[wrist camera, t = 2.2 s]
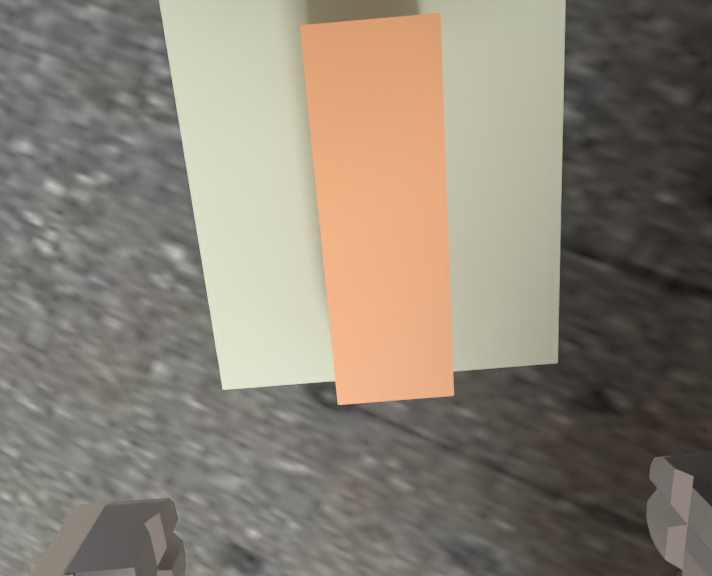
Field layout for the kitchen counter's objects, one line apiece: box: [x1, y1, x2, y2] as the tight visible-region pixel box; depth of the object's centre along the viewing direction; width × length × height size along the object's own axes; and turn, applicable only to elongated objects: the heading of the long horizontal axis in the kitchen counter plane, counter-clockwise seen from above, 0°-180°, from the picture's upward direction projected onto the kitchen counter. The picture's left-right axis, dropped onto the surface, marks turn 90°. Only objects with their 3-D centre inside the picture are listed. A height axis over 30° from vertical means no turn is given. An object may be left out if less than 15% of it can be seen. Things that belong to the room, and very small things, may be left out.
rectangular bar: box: [300, 13, 454, 405], centre depth 19 cm, size 12×4×4 cm, turn 5°
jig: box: [159, 0, 566, 390], centre depth 16 cm, size 27×14×9 cm, turn 5°
